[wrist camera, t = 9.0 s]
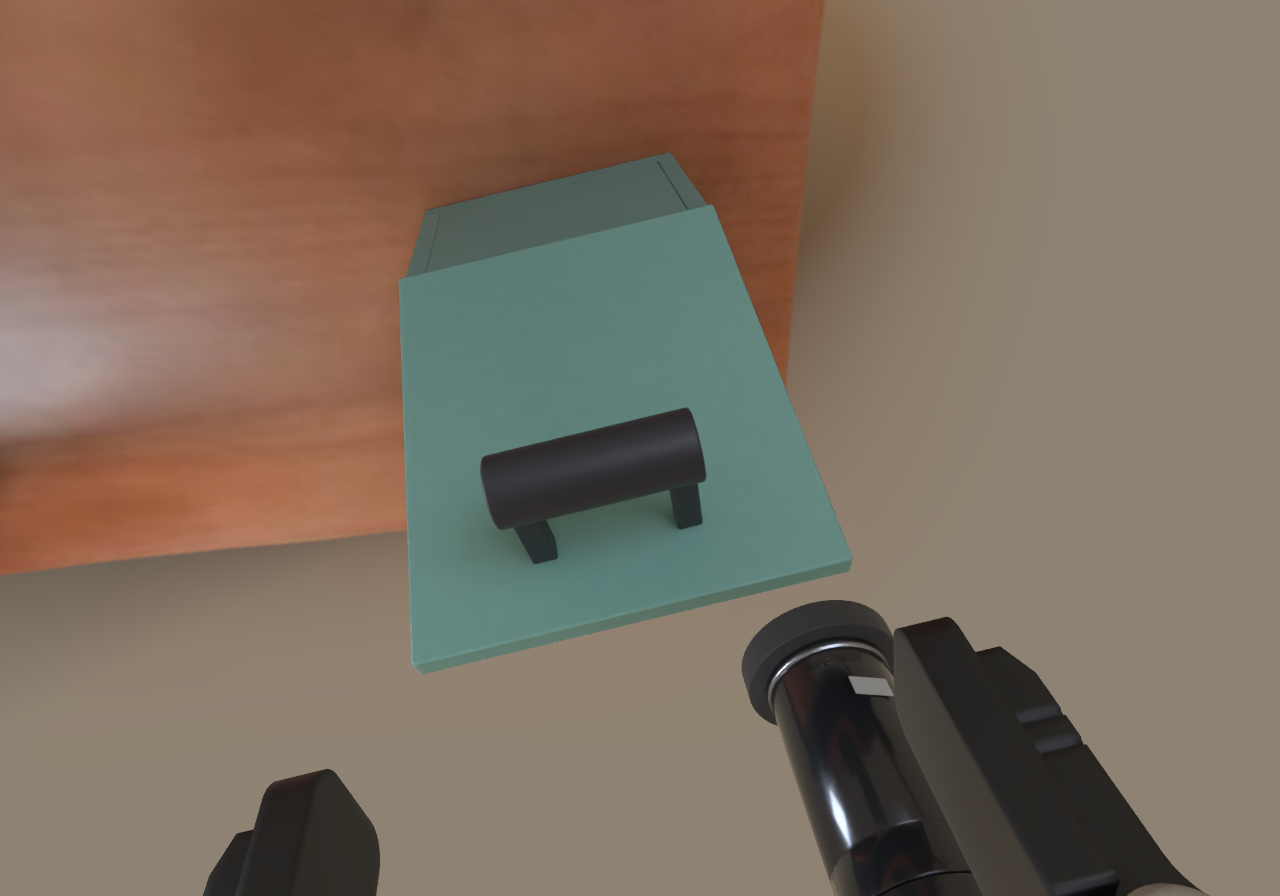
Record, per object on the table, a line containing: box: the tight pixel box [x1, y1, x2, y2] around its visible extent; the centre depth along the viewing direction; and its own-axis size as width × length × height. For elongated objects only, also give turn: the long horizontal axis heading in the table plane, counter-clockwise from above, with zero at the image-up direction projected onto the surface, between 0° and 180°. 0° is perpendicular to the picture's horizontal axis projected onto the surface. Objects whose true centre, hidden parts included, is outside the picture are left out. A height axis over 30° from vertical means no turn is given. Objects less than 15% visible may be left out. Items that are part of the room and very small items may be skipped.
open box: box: [406, 152, 707, 277], centre depth 36 cm, size 14×12×9 cm
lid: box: [399, 205, 852, 674], centre depth 22 cm, size 14×12×5 cm
